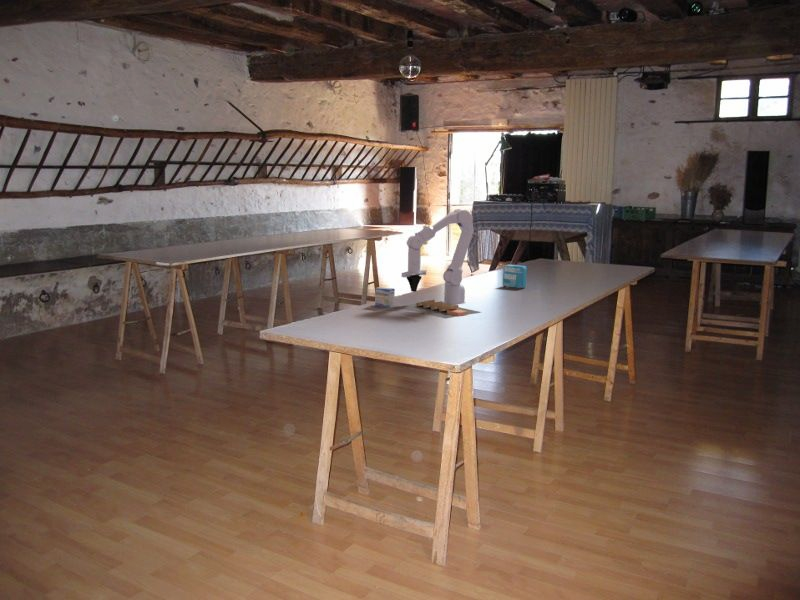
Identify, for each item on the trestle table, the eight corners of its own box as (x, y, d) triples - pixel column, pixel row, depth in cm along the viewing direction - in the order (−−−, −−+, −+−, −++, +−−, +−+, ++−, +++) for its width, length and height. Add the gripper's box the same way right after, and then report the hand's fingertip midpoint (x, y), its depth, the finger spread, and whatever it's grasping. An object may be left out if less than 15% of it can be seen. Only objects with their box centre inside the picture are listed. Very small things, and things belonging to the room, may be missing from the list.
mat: (432, 302, 324) (432, 301, 324) (481, 313, 300) (481, 312, 300) (396, 307, 310) (396, 306, 310) (445, 319, 286) (445, 318, 286)
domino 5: (447, 310, 296) (458, 312, 290) (455, 308, 299) (467, 311, 293) (446, 313, 296) (458, 316, 290) (455, 312, 299) (466, 314, 294)
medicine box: (374, 306, 312) (374, 288, 310) (379, 305, 316) (379, 286, 314) (389, 308, 308) (390, 289, 307) (394, 306, 312) (394, 288, 310)
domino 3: (430, 306, 303) (441, 304, 298) (439, 305, 307) (449, 303, 301) (431, 309, 303) (442, 307, 298) (439, 308, 306) (450, 306, 301)
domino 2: (423, 304, 307) (433, 302, 302) (431, 303, 310) (441, 301, 305) (423, 308, 307) (434, 305, 302) (432, 307, 310) (442, 304, 305)
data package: (502, 286, 373) (503, 265, 371) (505, 285, 377) (506, 264, 375) (523, 289, 367) (524, 266, 365) (526, 287, 370) (527, 266, 368)
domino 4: (438, 308, 299) (449, 305, 294) (446, 307, 303) (458, 304, 297) (439, 311, 299) (450, 309, 294) (447, 310, 303) (458, 308, 297)
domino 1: (415, 303, 311) (426, 300, 305) (424, 302, 314) (434, 299, 309) (416, 306, 311) (426, 304, 305) (424, 305, 314) (434, 302, 308)
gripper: (409, 264, 305) (409, 294, 307) (431, 261, 315) (430, 290, 317) (398, 262, 310) (397, 292, 312) (420, 260, 320) (419, 289, 322)
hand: (413, 291), depth 315 cm, fingers closed
